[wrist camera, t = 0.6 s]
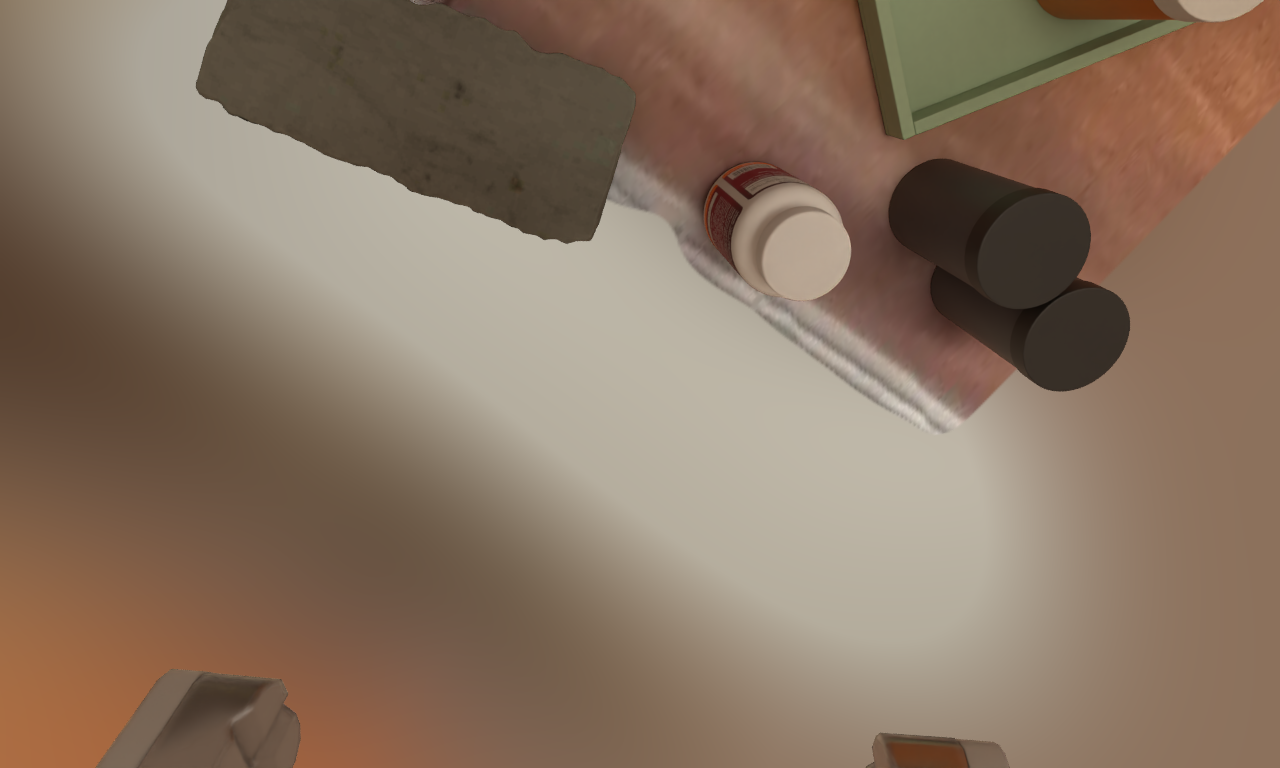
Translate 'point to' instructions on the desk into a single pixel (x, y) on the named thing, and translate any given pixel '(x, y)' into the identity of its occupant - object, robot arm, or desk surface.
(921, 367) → the desk surface
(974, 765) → the robot arm
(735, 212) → the pill bottle
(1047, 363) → the grey canister
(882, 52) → the tray
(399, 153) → the stone slab
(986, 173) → the grey canister
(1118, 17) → the bottle
